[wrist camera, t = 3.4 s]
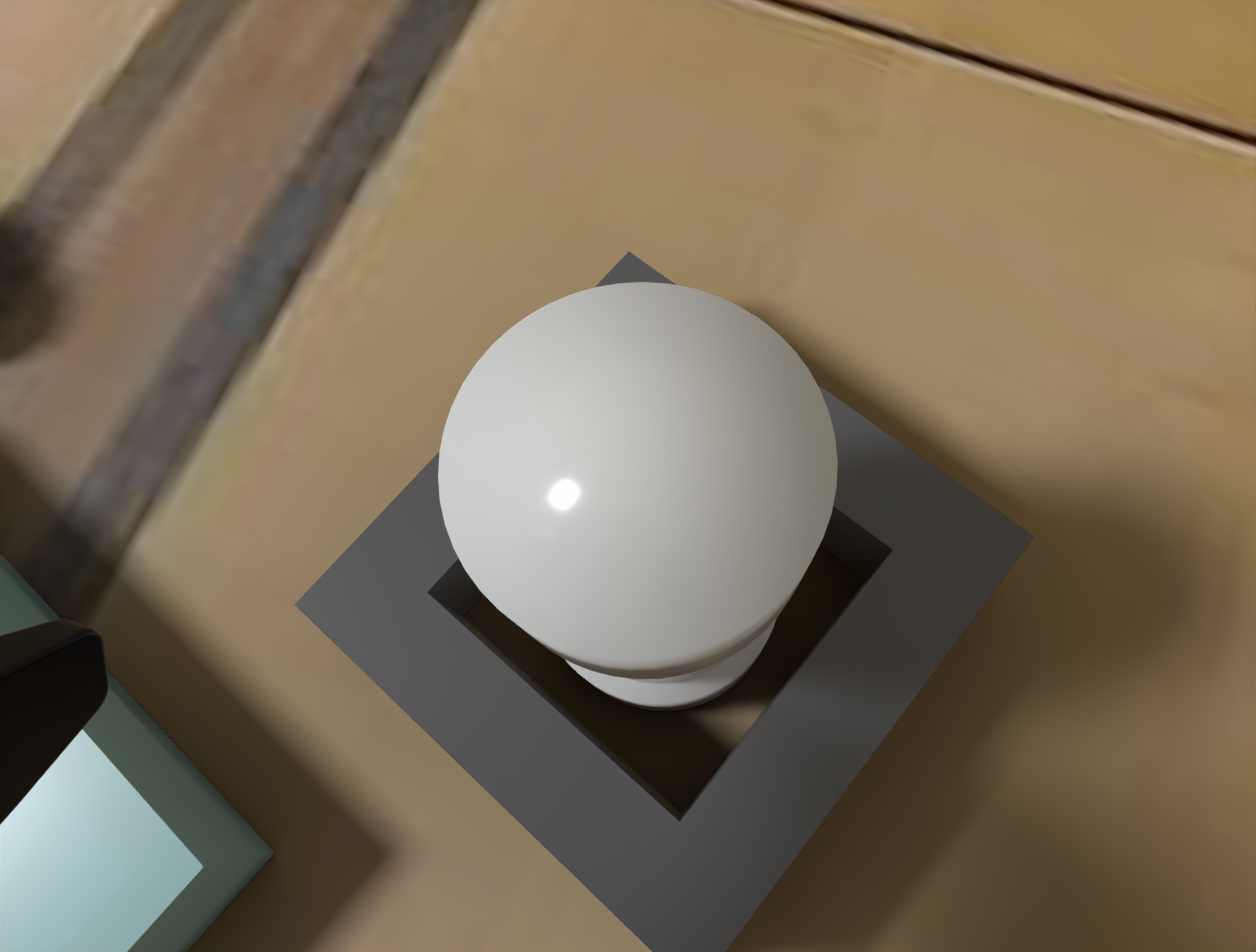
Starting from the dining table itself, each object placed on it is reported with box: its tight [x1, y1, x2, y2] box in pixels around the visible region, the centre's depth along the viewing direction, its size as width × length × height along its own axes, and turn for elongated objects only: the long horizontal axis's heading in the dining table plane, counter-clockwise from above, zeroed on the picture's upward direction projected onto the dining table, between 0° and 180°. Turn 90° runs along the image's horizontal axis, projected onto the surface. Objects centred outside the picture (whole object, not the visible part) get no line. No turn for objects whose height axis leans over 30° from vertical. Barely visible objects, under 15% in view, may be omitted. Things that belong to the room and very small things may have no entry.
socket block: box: [295, 252, 1034, 952], centre depth 19 cm, size 11×11×3 cm
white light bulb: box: [438, 282, 838, 711], centre depth 16 cm, size 5×5×10 cm
